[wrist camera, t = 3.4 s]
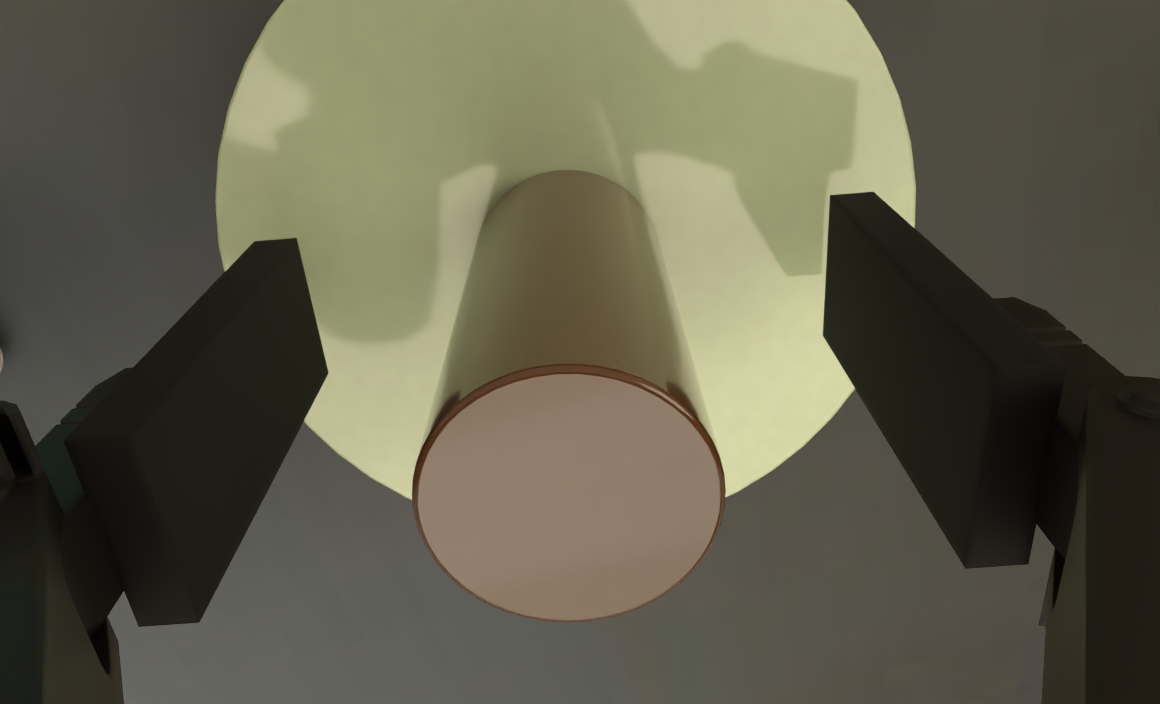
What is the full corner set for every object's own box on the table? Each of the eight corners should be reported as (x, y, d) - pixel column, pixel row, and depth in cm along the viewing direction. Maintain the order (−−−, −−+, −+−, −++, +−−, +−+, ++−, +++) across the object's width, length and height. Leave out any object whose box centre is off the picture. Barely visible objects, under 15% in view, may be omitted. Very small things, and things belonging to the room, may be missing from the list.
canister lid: (315, 523, 21) (157, 905, 13) (148, -98, 15) (-339, -114, 7) (871, 483, 21) (1067, 847, 13) (928, -168, 15) (1369, -269, 7)
